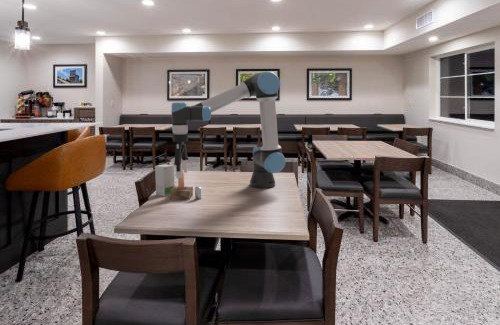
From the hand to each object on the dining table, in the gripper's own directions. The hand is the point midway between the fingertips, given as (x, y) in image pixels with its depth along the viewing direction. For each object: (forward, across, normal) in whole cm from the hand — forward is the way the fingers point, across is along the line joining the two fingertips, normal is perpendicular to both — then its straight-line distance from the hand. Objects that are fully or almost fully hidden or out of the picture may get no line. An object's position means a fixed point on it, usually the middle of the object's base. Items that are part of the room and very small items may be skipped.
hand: (181, 175), depth 188 cm
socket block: (+12, 0, -1) cm, 12 cm away
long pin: (+12, 0, -1) cm, 12 cm away
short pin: (+12, +3, +8) cm, 15 cm away
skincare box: (+12, -6, -11) cm, 17 cm away
